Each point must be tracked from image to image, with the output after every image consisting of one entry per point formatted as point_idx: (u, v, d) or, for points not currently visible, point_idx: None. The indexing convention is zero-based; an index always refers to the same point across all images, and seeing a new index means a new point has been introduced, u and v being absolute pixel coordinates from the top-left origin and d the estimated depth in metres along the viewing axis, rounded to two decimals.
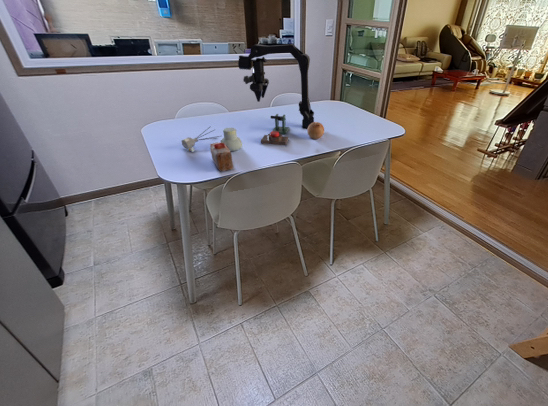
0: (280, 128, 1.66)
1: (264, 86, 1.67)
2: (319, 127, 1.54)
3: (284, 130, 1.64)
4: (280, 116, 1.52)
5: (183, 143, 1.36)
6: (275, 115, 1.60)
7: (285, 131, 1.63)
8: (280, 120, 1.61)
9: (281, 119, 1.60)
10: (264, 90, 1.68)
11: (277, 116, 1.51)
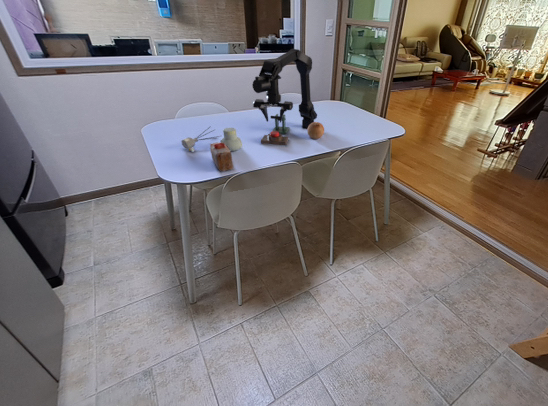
0: (280, 128, 1.66)
1: None
2: (319, 127, 1.54)
3: (284, 130, 1.64)
4: None
5: (183, 143, 1.36)
6: (275, 115, 1.60)
7: (285, 131, 1.63)
8: None
9: None
10: (280, 114, 1.42)
11: (277, 116, 1.51)
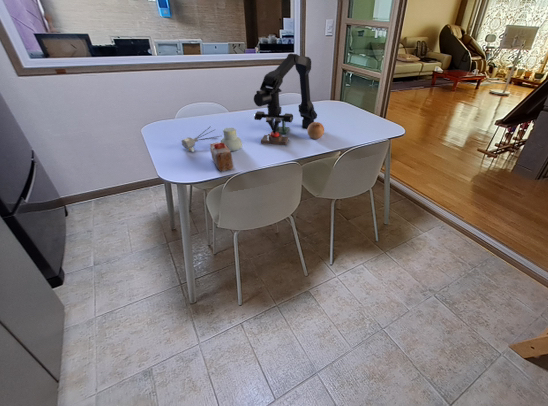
0: (280, 128, 1.66)
1: None
2: (319, 127, 1.54)
3: (284, 130, 1.64)
4: None
5: (183, 143, 1.36)
6: None
7: (285, 131, 1.63)
8: None
9: None
10: None
11: None
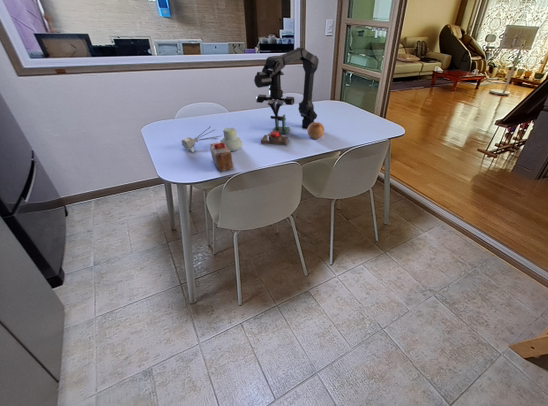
0: (280, 128, 1.66)
1: None
2: (319, 127, 1.54)
3: (284, 130, 1.64)
4: (280, 116, 1.52)
5: (183, 143, 1.36)
6: None
7: (285, 131, 1.63)
8: (280, 120, 1.61)
9: (281, 119, 1.60)
10: None
11: (277, 116, 1.51)
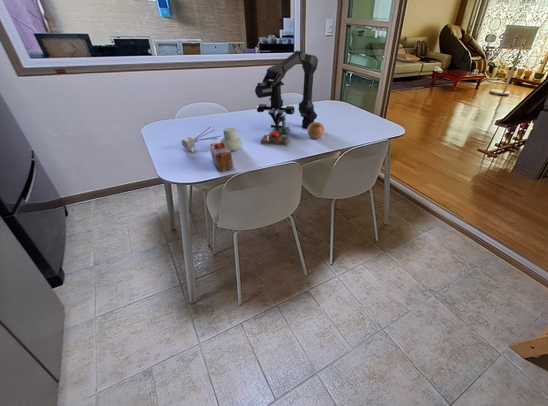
0: (280, 128, 1.66)
1: None
2: (319, 127, 1.54)
3: (284, 130, 1.64)
4: None
5: (183, 143, 1.36)
6: None
7: (285, 131, 1.63)
8: (280, 121, 1.61)
9: (281, 120, 1.61)
10: (276, 118, 1.51)
11: (277, 126, 1.53)
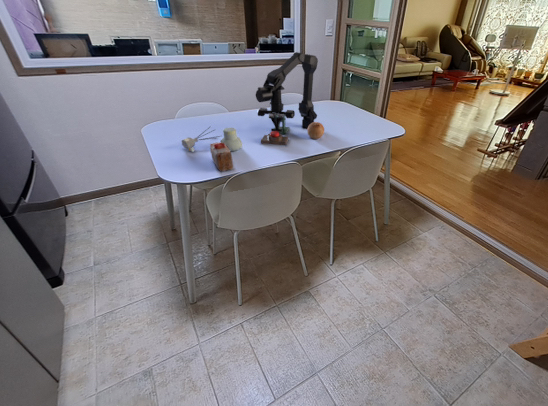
0: (280, 128, 1.66)
1: None
2: (319, 127, 1.54)
3: (284, 130, 1.64)
4: (280, 129, 1.55)
5: (183, 143, 1.36)
6: None
7: (285, 131, 1.63)
8: (280, 121, 1.62)
9: (281, 121, 1.61)
10: (276, 122, 1.52)
11: (277, 130, 1.55)
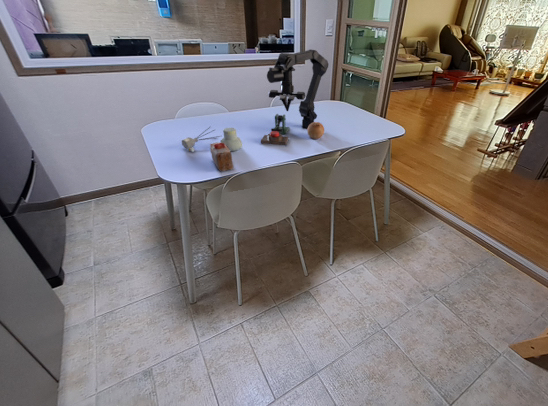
0: (280, 128, 1.66)
1: None
2: (319, 127, 1.54)
3: (284, 130, 1.64)
4: (280, 129, 1.55)
5: (183, 143, 1.36)
6: (275, 115, 1.60)
7: (285, 131, 1.63)
8: (280, 121, 1.62)
9: (281, 121, 1.61)
10: None
11: (277, 130, 1.55)
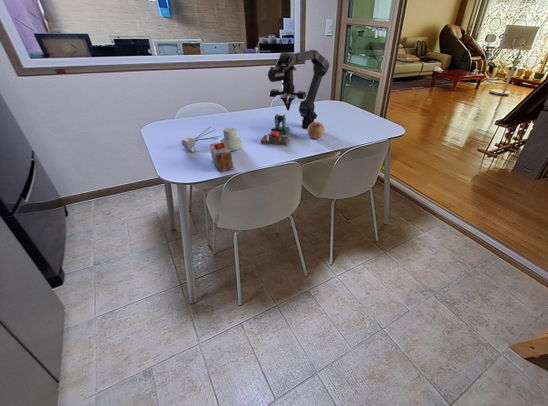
0: (280, 128, 1.66)
1: None
2: (319, 127, 1.54)
3: (284, 130, 1.64)
4: (280, 129, 1.55)
5: (183, 143, 1.36)
6: (275, 115, 1.60)
7: (285, 131, 1.63)
8: (280, 121, 1.62)
9: (281, 121, 1.61)
10: (288, 103, 1.53)
11: (277, 130, 1.55)
